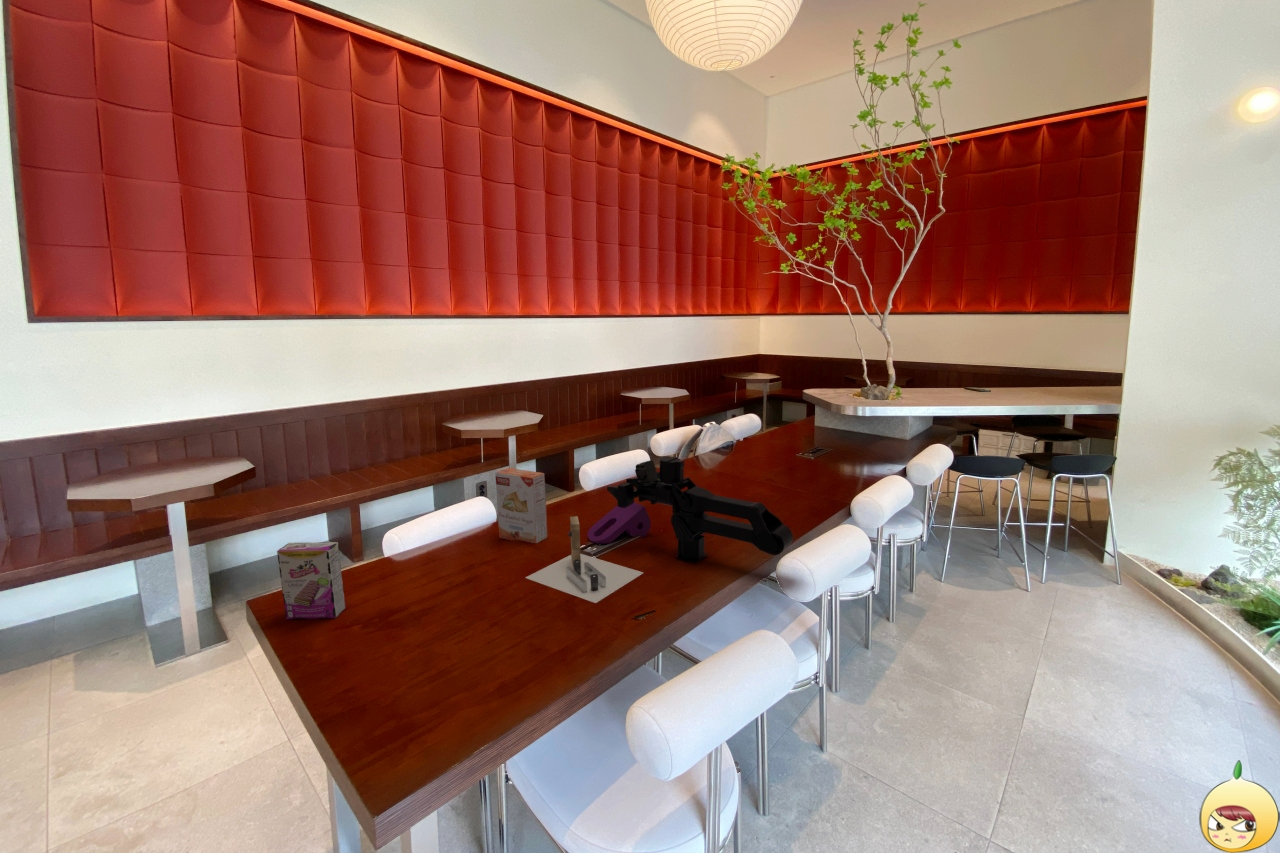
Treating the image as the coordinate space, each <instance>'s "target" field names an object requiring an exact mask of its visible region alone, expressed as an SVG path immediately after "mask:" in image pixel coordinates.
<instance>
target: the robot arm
mask: <svg viewBox="0 0 1280 853" xmlns="http://www.w3.org/2000/svg"><path fill="white" fill-rule="evenodd" d="M684 468H685V461H684V460H682V459H681V458H678V456H663V457H660V458H659V471H657V469H656V466H655V462H654V460H652V459H649V460H646V461H643V462H640V463H637V464H636V465H635V469H634V472H635V476H636V477H634V478H633V477H631V478H626V479H625V482H623V483H620V484H618V485H616V486H615V485H612V486H611V485H609V486H607V487H606V490H607V492H609V494H611V495H612V497H614V499H615V500H616V501H617V505H618V507H621V508H626V507H628V506H630V505H632V504H633V503H634V502H635V498H638V502H639V503H643V502H645V501H648V502H650V505H656V504H662V505H664V506H665V505H666V506H670V507H672V510H671V511H672V513H671V517H670V523H671V526H672V528H673V532H674V535H675V538H676V539H677V555H675V558H676V559H678V560H683V561H687V562H689V563H692V562H694V563H693V564H698V563H699V562H700V561H701V559H702V560H703V559H704V557H705V556H706V557H707V556H708V553H706V552H705V534H710V535H714V536H715V535H716V536H720V537H723V538H728V539H732V540H736V541H740V542H745V543H748V544H752V545H753V546H754V547H755V548H757V550H759V551H760V552H763V553H765V554H768V555H771V556H778V555H780V554H781V553H782V552H784V550H786V549H787V548H788V547H790V546H791V545H792V543H793V542H794V540H793V539H794V534H793V532H792V530H791V529H790V528H789V526H787V525H785V524H784V523H783V522H782V520H781V519H780V518H779V517H777V516H776V515H775V514H774V513H772V512H771V511H770V510H769V509H768V508H767V507H766V505H765V504H763V503H762V502H754V501H748V500H743V499H738V498H732V497H726V496H724V495H723V496H722V495H718V494H714V493H712V492H711V491H709V490H708V489H705V488H703V487H700V486H697V484H696V483H695V482H694V481H693V480H692V479H690V477H684V476H685V475H684V471H685V470H684ZM684 488H685V490H683V489H684ZM686 488H687V489H686ZM707 512H709V513H714V514H719V515H724V516H729V517H735V518H739V519H744V520H747V521H748V522H749V523H748V522H747V523H746V522H741V521H737V520H732V519H727V518H721V517H718V516H713V515H709V514H708V513H707ZM706 557H705V558H706ZM698 561H699V562H698Z"/></svg>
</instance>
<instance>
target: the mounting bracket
mask: <svg viewBox="0 0 1280 853" xmlns="http://www.w3.org/2000/svg"><path fill="white" fill-rule="evenodd" d="M651 524H652V523H651V519H650V516H649V514H648V511H647V509H646V507H645V506H644V505H642V504H639V503H638V502H637V503H636V502H635V501H634V503H633V504H632V505H630V506H628V507H626V508H621V507H618V504H617V505H616V506H615V507H614V508H612V509H611V510H610V511H608V512H607V513H606V514H605V515H604V516H603V517H601V518H600V519H599V520H598V521H596V522H595V523H594V524H593V525H592V526H591V527H590V528H589V530H588V531H587V538H588V540H589V542H591V543H593V544H601V545H603V544H605V545H606V544H611V543H612V542H613V541H615V540H616V539H617V538H618V537H619V536H620V535H621V534H623V533H624V531H625V533H626V534H627V535H628V536H630V537H632V538H633V537H636V536H639V537H640V538H643V537H645V536H647V534H648V532H650V531H649V530H650V528H651Z"/></svg>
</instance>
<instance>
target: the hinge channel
mask: <svg viewBox="0 0 1280 853" xmlns="http://www.w3.org/2000/svg"><path fill="white" fill-rule="evenodd" d="M584 569H585V573H586V574H587V575H589V576H590V580H591V591H597V590H598V584H599V585H600V586H601V587H606V577H605V576H604V575H603V574H602V573H601V572H599V571H598V570H597V569H596V568H595V567H593V566H592V565H591V564H590V563H589V562H586V563H584ZM580 575H581V560H574V570H573V569H572V568H571V567H570V566H569V567H566V577H567V578H568V579H569V580H571V581H572V582H573V583H574V584H575V585H576V586H577V587H578V588H579V589H580V590H581V591H582V592H583V593H584V592H587V581H585V580H584V579H583V578H582V577H581V576H580Z"/></svg>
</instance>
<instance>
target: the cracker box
mask: <svg viewBox="0 0 1280 853" xmlns="http://www.w3.org/2000/svg"><path fill="white" fill-rule="evenodd" d="M495 489H496V490H495V492H496V504H497V505H496V506H497V520H498V521H497V522H498V535H499V536H498V537H499V539H503V540H506V541H507V540H508V541H511V542H513V541H523V542H527V543H532V544H538V543H539V542H541V541H543V540H545V539H548V522H547V521H548V520H547V501H546V500H547V498H546V496H547V495H546V478H545V473H544V472H539V471H538V472H537V471H532V470H525V469H518V468H512V467H506V468H503V469H500V470H496V471H495Z"/></svg>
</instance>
